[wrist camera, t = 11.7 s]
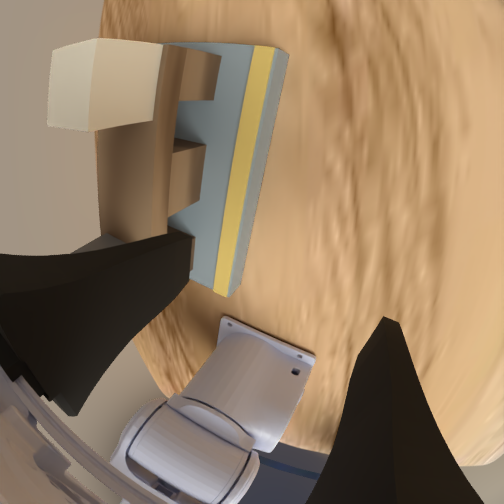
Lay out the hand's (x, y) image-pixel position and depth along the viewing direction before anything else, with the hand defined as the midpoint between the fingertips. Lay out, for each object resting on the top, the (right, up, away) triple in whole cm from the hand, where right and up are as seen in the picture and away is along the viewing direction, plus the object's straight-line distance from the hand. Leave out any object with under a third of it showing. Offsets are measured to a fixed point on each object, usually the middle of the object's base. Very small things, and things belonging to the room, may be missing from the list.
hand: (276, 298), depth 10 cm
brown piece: (-6, +8, +10) cm, 14 cm away
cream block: (-7, +10, +2) cm, 13 cm away
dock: (-6, +9, +11) cm, 15 cm away
